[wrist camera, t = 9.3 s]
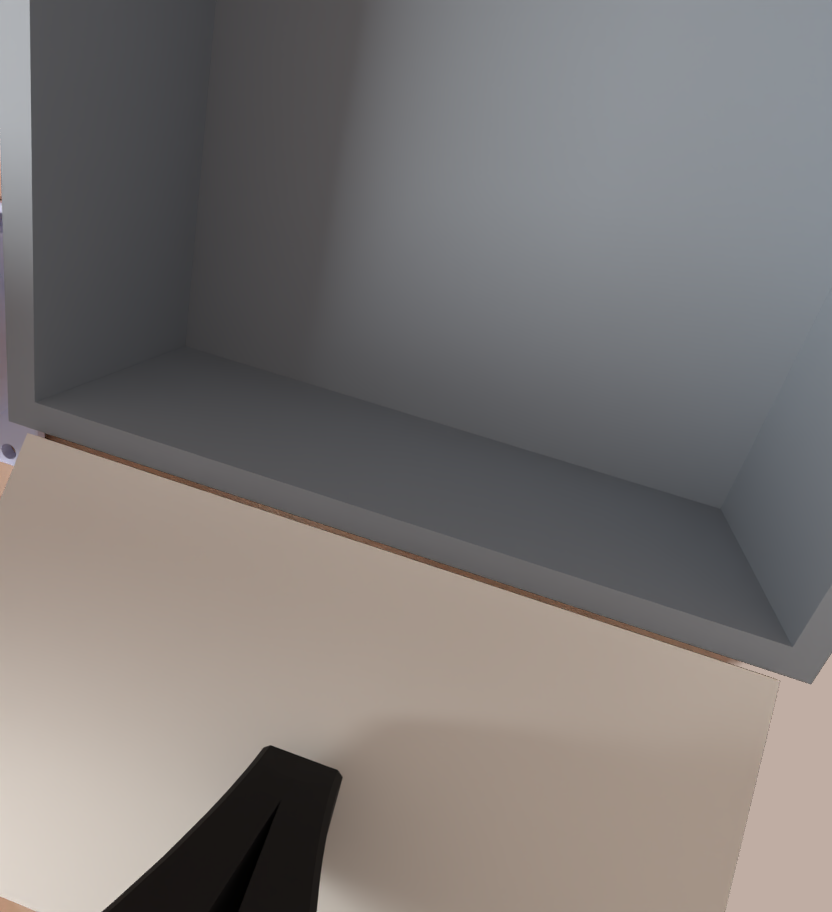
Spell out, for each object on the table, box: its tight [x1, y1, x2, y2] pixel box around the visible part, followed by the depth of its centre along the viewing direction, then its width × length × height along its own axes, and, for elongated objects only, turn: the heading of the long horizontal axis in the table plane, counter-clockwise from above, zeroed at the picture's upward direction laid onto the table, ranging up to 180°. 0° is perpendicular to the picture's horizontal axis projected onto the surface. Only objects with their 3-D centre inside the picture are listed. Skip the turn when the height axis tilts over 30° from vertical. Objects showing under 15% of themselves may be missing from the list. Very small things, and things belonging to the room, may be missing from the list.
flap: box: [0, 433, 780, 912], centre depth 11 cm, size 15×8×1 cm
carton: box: [0, 0, 832, 684], centre depth 11 cm, size 16×16×6 cm
